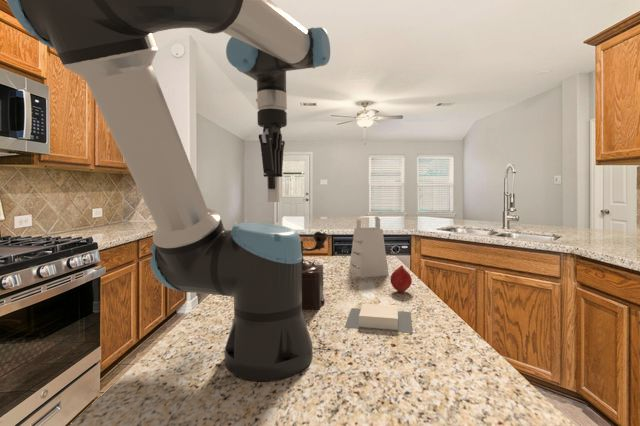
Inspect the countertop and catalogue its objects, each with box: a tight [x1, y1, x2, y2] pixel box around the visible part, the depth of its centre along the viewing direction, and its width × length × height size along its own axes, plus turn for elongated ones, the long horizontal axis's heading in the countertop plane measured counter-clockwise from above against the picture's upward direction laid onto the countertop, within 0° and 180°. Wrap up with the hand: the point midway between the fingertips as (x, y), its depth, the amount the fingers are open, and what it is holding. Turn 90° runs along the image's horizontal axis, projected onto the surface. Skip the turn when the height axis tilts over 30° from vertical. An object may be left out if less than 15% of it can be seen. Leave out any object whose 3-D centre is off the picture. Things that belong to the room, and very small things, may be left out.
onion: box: [390, 265, 413, 294], centre depth 96 cm, size 6×6×8 cm
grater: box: [348, 215, 390, 278], centre depth 119 cm, size 10×10×20 cm
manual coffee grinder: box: [300, 230, 328, 311], centre depth 89 cm, size 16×11×18 cm
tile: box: [359, 303, 399, 330], centre depth 74 cm, size 2×8×8 cm
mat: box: [343, 307, 414, 334], centre depth 76 cm, size 12×14×1 cm
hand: (273, 201), depth 89 cm, fingers closed
